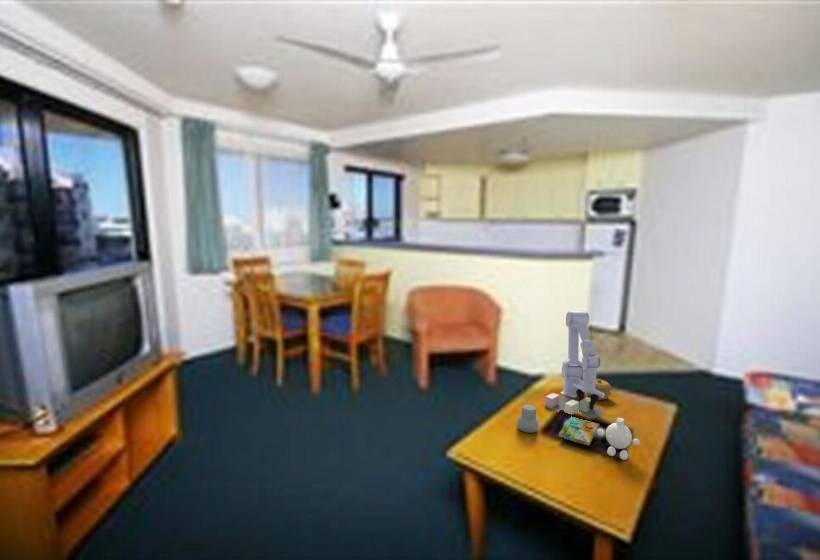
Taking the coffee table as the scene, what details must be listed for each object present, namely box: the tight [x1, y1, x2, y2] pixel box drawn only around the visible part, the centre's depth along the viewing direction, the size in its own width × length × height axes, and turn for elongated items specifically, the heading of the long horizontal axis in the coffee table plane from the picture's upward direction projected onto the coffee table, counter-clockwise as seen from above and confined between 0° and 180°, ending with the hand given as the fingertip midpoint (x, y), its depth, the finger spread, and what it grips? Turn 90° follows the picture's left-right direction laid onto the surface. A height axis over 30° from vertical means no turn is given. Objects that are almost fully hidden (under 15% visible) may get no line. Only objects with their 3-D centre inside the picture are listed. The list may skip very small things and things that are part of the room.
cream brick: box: [564, 399, 579, 415], centre depth 201 cm, size 7×4×5 cm, turn 133°
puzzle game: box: [558, 416, 600, 447], centre depth 179 cm, size 12×5×20 cm
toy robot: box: [596, 417, 641, 461], centre depth 165 cm, size 15×10×15 cm, turn 57°
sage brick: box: [579, 396, 591, 412], centre depth 205 cm, size 7×4×5 cm, turn 133°
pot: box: [586, 378, 612, 401], centre depth 219 cm, size 12×12×10 cm
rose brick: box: [544, 392, 560, 408], centre depth 208 cm, size 7×4×5 cm, turn 133°
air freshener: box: [516, 404, 539, 434], centre depth 183 cm, size 11×8×10 cm
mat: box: [542, 395, 606, 420], centre depth 205 cm, size 20×22×1 cm
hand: (586, 407), depth 205 cm, fingers open, 4 cm apart
